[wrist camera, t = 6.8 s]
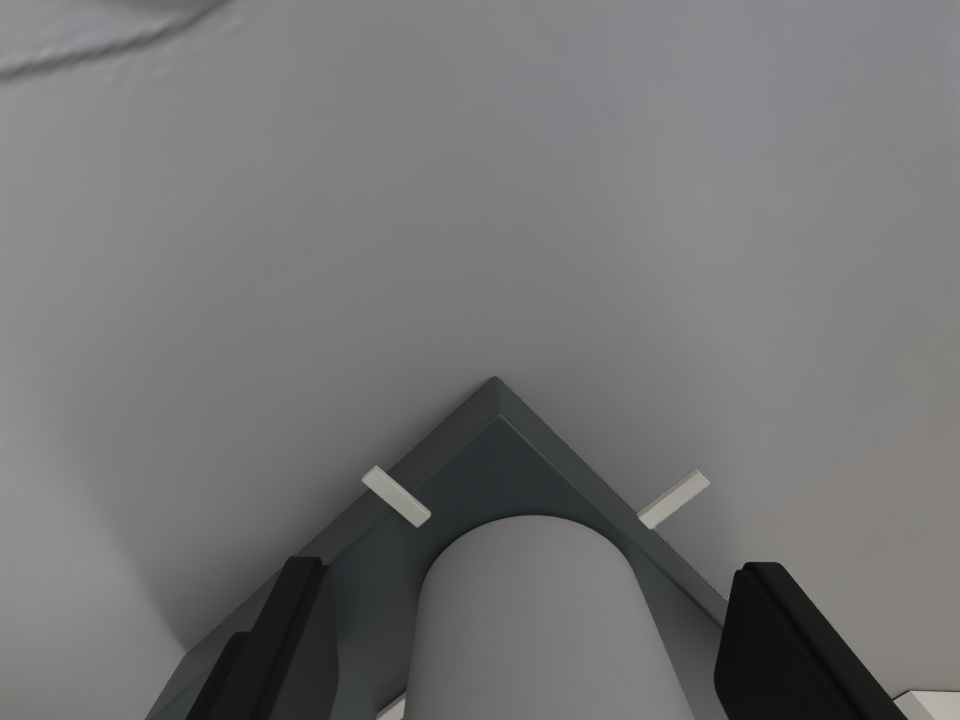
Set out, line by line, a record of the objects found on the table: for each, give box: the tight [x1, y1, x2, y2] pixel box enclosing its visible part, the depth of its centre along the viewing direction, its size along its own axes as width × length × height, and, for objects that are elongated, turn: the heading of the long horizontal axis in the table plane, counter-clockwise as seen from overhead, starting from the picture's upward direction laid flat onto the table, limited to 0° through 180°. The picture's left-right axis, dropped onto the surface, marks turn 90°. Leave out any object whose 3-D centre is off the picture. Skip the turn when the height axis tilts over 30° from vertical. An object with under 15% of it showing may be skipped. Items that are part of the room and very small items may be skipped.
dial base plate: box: [145, 377, 729, 720], centre depth 12 cm, size 13×10×2 cm
